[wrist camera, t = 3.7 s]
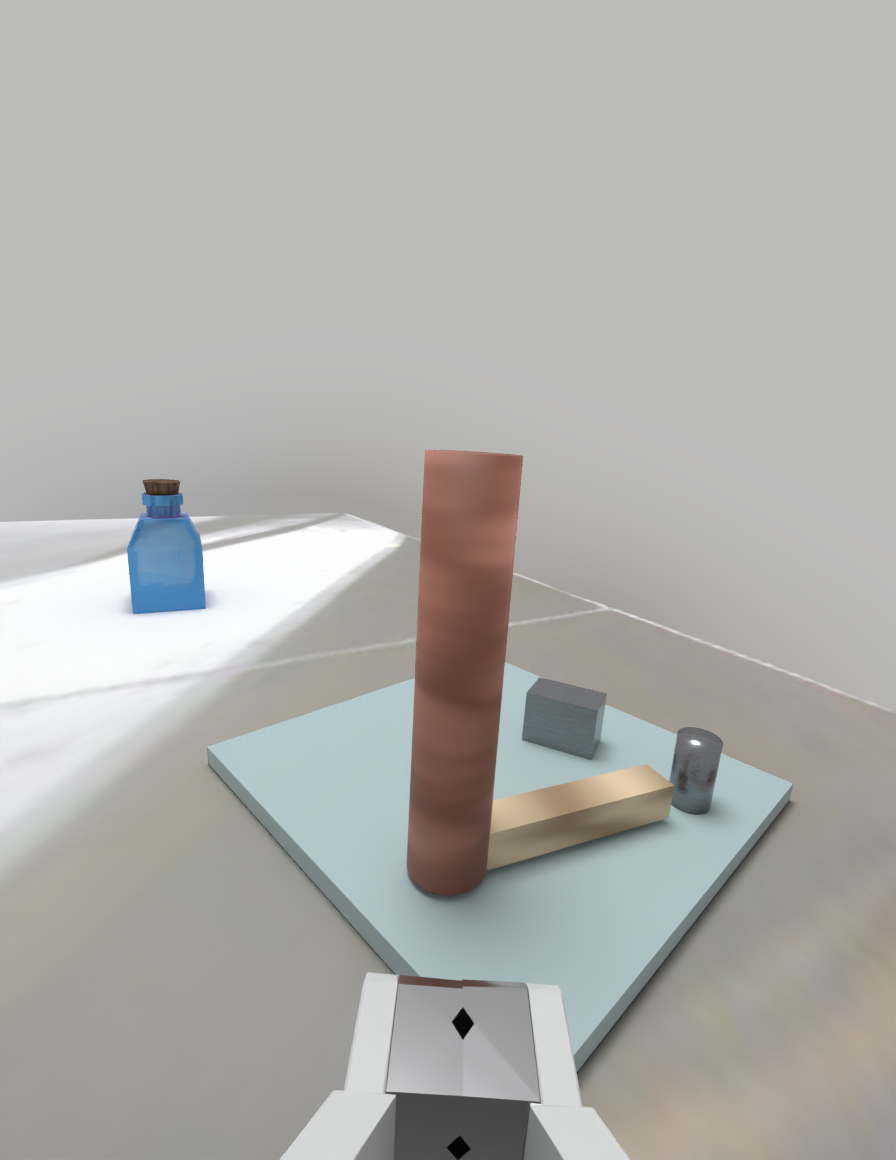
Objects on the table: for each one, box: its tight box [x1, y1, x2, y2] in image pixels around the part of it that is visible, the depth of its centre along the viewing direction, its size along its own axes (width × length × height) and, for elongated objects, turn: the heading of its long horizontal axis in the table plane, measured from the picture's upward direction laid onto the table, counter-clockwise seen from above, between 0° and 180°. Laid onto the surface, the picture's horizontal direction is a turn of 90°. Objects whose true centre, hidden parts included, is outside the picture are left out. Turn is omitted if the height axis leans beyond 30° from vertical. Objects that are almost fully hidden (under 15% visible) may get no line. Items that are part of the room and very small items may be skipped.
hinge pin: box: [669, 727, 723, 815], centre depth 27 cm, size 2×2×4 cm
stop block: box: [522, 677, 607, 760], centre depth 32 cm, size 4×2×3 cm, turn 64°
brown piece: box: [407, 450, 675, 895], centre depth 22 cm, size 12×3×16 cm, turn 114°
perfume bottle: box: [127, 479, 205, 614], centre depth 55 cm, size 6×6×12 cm
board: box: [207, 662, 793, 1072], centre depth 30 cm, size 22×22×1 cm
